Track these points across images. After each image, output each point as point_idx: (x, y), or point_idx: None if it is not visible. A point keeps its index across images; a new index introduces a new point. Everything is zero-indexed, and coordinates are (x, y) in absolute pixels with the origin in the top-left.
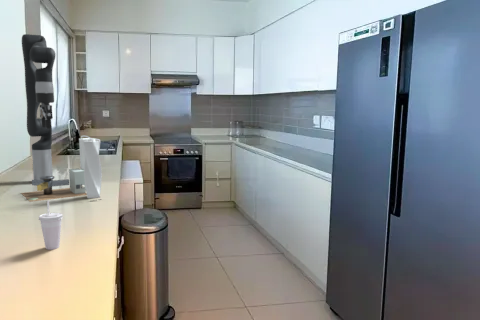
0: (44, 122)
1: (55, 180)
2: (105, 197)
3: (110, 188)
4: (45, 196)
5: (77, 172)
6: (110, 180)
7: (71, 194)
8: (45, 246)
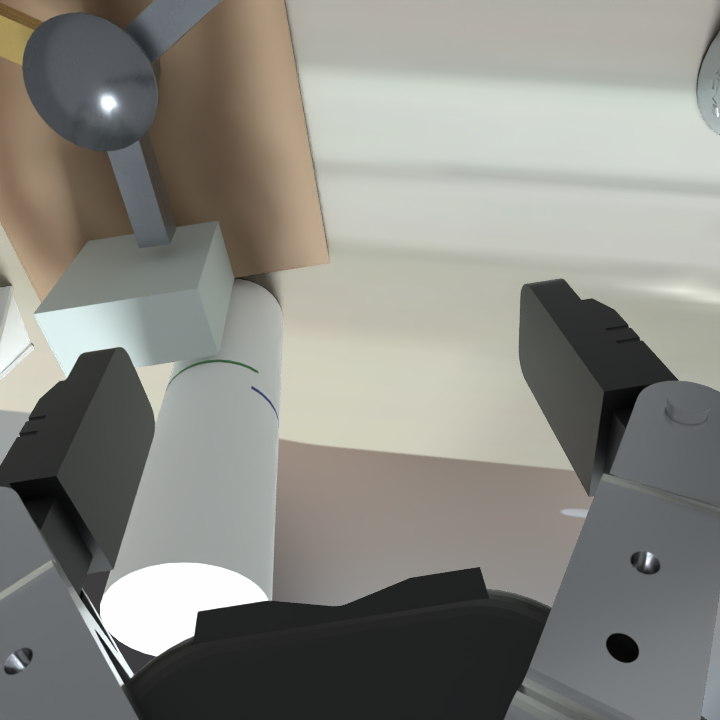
0: (562, 388)
1: (129, 149)
2: (32, 373)
3: (281, 418)
4: None
5: (47, 331)
6: (516, 441)
7: (75, 217)
8: None
